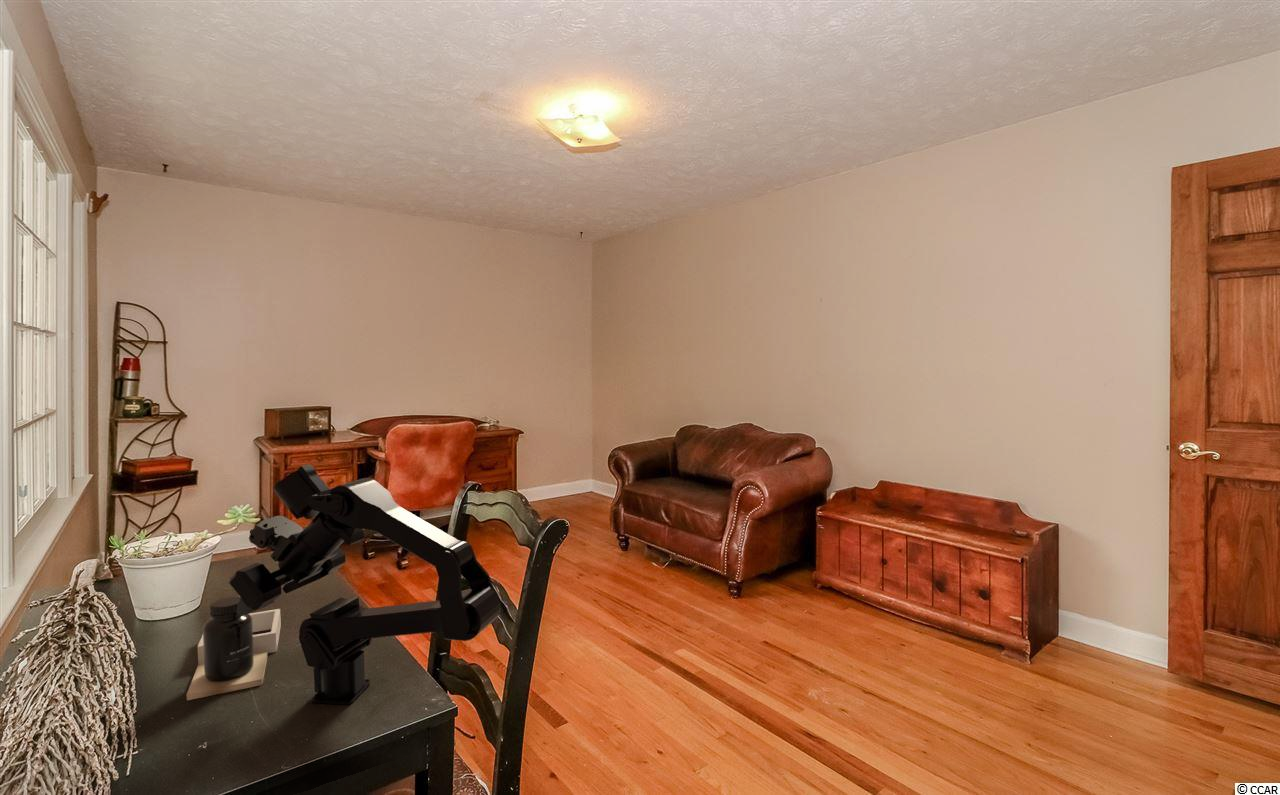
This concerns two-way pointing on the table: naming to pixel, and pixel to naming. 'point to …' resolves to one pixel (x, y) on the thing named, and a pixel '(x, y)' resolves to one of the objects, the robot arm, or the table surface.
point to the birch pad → (207, 688)
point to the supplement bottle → (227, 641)
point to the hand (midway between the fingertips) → (262, 601)
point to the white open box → (260, 641)
